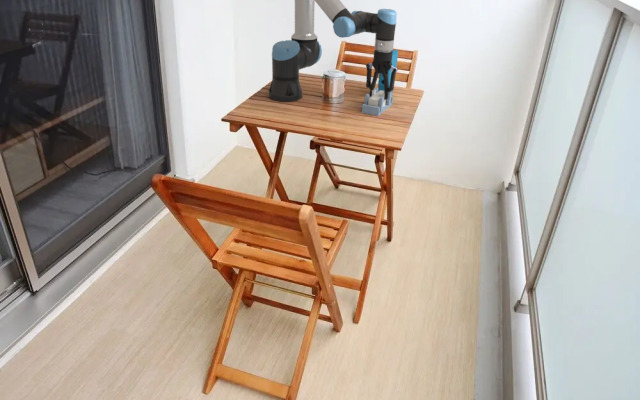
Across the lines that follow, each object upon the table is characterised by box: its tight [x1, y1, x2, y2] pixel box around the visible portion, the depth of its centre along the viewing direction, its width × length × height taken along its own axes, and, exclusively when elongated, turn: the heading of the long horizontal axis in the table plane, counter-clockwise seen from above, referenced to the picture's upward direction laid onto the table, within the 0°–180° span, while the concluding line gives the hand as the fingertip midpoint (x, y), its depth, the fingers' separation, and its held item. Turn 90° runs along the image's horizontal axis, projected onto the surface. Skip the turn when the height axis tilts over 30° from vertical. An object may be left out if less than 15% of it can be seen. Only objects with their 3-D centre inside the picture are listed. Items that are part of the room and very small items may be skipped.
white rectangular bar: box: [368, 90, 387, 107], centre depth 207 cm, size 14×4×5 cm, turn 153°
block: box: [377, 49, 399, 94], centre depth 218 cm, size 12×5×20 cm, turn 158°
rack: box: [361, 87, 394, 117], centre depth 207 cm, size 17×8×7 cm, turn 153°
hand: (377, 105), depth 208 cm, fingers closed on white rectangular bar, 4 cm apart
